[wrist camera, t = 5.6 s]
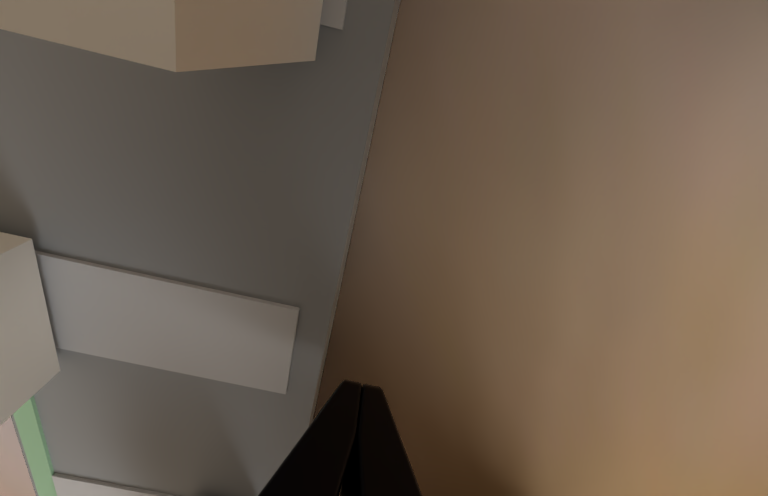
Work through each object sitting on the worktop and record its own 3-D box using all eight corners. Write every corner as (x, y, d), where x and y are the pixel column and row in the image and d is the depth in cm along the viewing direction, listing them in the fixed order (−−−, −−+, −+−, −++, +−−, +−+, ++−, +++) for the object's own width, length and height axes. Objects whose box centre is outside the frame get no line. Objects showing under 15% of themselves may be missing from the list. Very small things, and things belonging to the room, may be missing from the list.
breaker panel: (457, -269, 6) (479, -418, 4) (291, 522, 16) (275, 585, 14) (-93, -437, 5) (-353, -693, 4) (92, 485, 15) (48, 545, 13)
